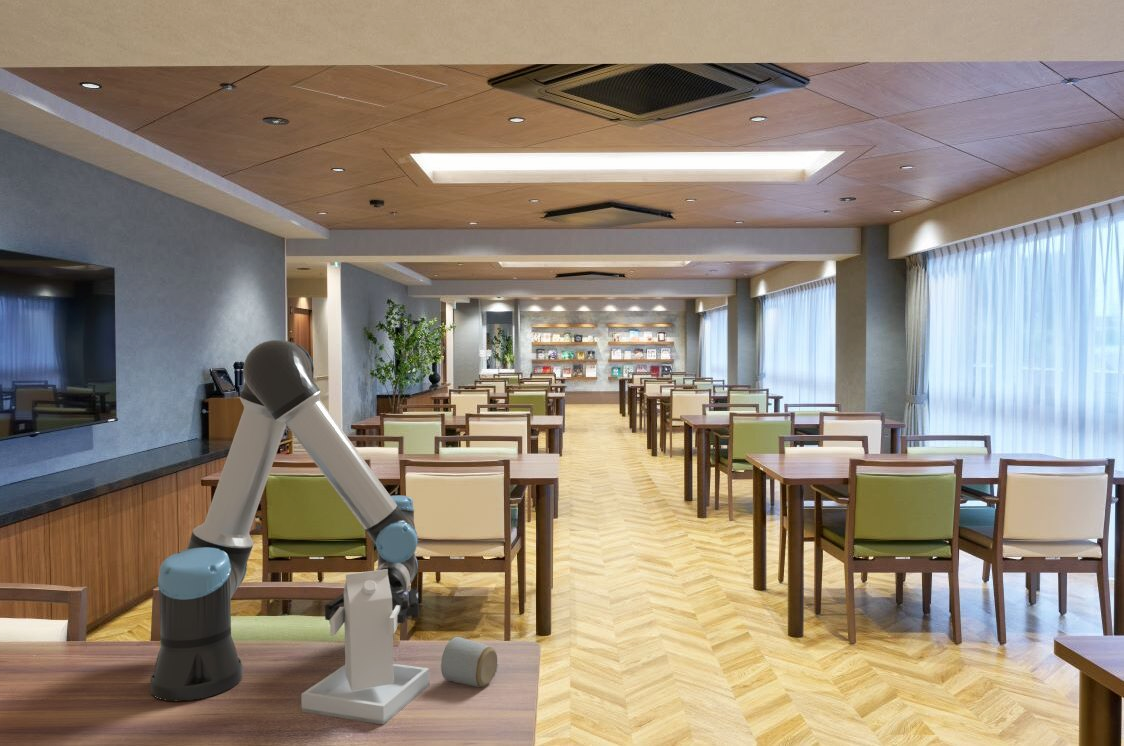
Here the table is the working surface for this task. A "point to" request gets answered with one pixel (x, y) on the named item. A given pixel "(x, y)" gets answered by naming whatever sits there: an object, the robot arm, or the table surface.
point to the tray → (365, 695)
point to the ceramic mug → (468, 662)
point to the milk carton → (368, 630)
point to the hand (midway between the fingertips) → (362, 626)
